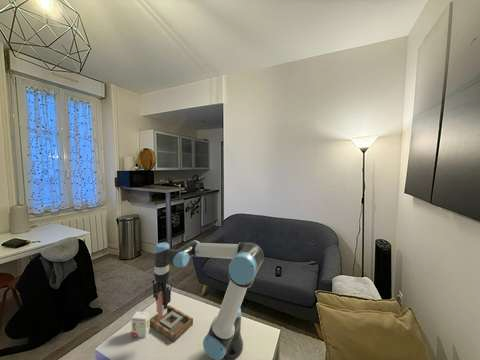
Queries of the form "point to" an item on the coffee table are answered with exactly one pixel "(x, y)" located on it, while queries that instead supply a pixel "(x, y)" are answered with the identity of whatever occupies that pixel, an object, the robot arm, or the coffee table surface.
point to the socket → (168, 317)
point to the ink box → (140, 324)
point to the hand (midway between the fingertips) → (161, 312)
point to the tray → (166, 332)
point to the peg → (160, 306)
